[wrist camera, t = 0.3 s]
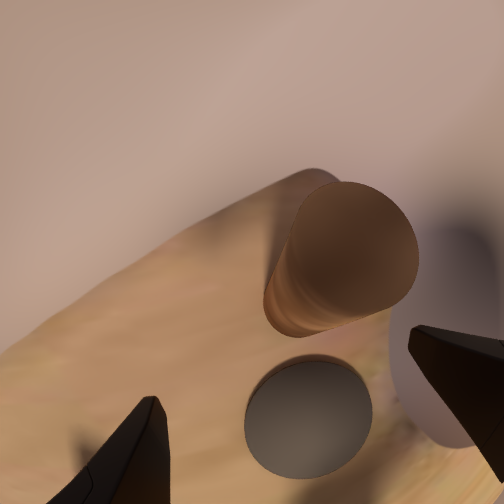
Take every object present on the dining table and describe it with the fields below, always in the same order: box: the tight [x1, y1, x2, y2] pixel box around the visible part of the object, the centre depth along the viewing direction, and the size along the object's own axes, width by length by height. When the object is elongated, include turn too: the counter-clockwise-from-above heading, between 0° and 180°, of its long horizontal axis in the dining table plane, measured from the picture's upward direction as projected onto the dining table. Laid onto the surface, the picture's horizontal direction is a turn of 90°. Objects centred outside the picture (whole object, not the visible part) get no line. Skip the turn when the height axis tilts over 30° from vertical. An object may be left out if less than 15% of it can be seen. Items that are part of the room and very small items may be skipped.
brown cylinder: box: [263, 182, 419, 338], centre depth 17 cm, size 6×6×13 cm
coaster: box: [244, 361, 372, 479], centre depth 19 cm, size 11×11×1 cm
